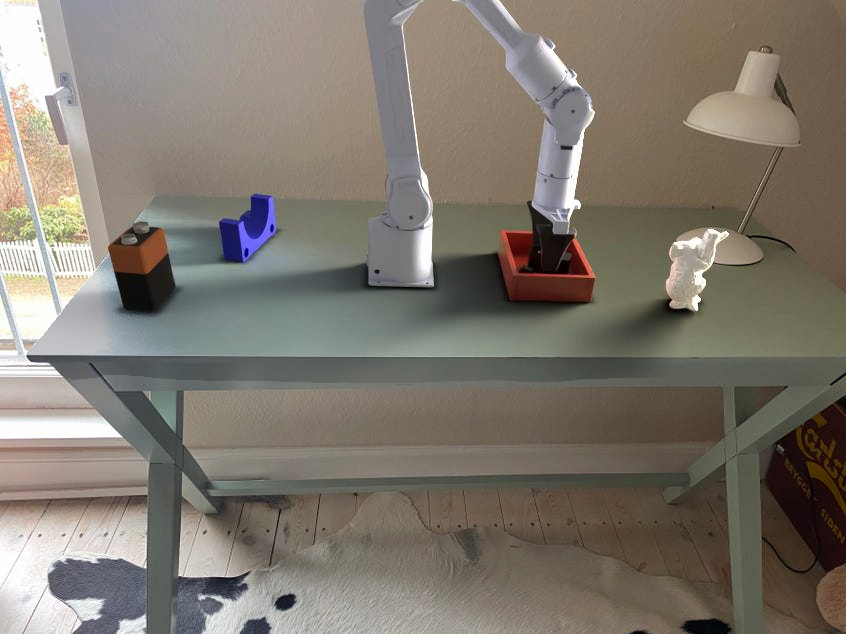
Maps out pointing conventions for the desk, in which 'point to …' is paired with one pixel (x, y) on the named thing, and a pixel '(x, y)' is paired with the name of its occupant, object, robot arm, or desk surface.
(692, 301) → the koala figurine
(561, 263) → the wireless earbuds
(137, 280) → the battery
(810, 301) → the desk surface
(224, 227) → the blue pipe saddle mount
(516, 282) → the red open box
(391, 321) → the desk surface
